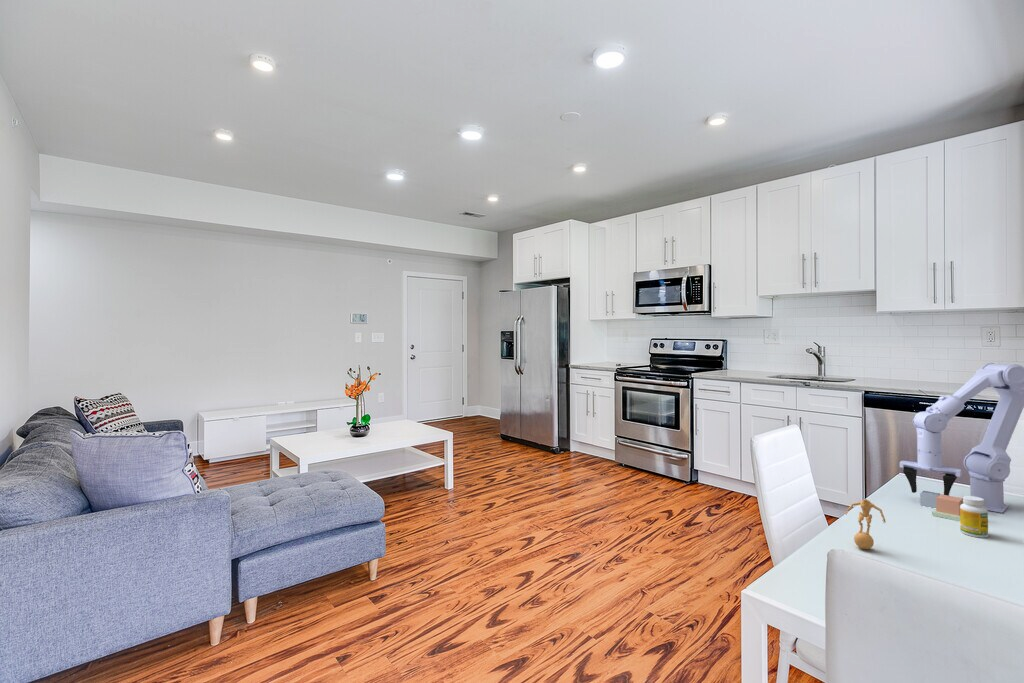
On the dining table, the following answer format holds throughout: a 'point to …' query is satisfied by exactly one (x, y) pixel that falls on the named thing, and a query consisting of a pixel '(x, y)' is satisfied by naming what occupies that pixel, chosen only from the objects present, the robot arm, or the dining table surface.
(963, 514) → the supplement bottle
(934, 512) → the plate
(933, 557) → the dining table surface
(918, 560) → the dining table surface
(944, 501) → the terracotta brick
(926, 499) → the slate brick
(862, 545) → the figurine
